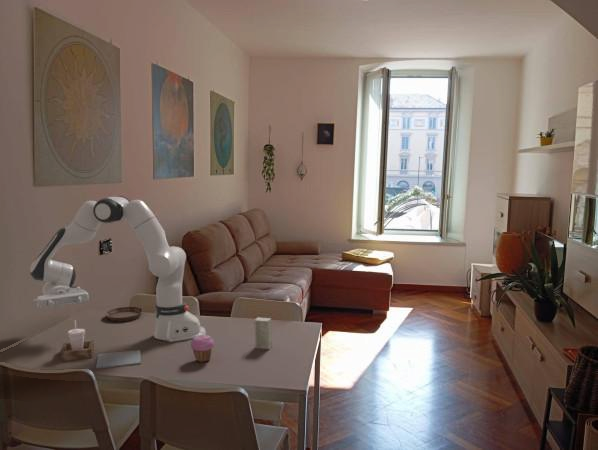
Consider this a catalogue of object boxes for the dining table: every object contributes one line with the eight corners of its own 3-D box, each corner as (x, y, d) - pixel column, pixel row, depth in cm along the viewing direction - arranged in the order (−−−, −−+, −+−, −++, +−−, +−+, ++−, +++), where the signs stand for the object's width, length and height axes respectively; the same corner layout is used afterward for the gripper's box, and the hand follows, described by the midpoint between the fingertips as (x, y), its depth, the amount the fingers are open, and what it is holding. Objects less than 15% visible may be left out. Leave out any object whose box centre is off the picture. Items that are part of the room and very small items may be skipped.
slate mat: (140, 351, 214) (140, 350, 214) (140, 364, 200) (140, 362, 200) (98, 355, 209) (98, 354, 209) (96, 368, 196) (95, 367, 196)
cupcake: (218, 360, 204) (217, 335, 203) (199, 366, 198) (198, 340, 197) (205, 354, 210) (205, 330, 209) (186, 359, 205) (186, 335, 203)
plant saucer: (122, 325, 249) (122, 318, 248) (97, 319, 258) (97, 313, 258) (150, 315, 264) (150, 309, 263) (126, 310, 273) (126, 304, 273)
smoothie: (81, 350, 215) (79, 317, 213) (89, 353, 211) (87, 320, 209) (66, 354, 210) (64, 320, 208) (74, 358, 206) (72, 323, 204)
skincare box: (272, 346, 220) (272, 318, 218) (268, 349, 216) (268, 321, 214) (258, 344, 222) (257, 316, 220) (254, 348, 217) (254, 319, 216)
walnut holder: (94, 348, 217) (93, 339, 217) (91, 357, 207) (91, 349, 206) (64, 350, 214) (63, 342, 214) (60, 361, 203) (59, 352, 203)
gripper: (32, 292, 222) (39, 299, 211) (83, 286, 234) (92, 292, 223) (33, 306, 223) (40, 314, 212) (83, 299, 235) (92, 306, 224)
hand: (67, 303), depth 218 cm, fingers open, 8 cm apart
